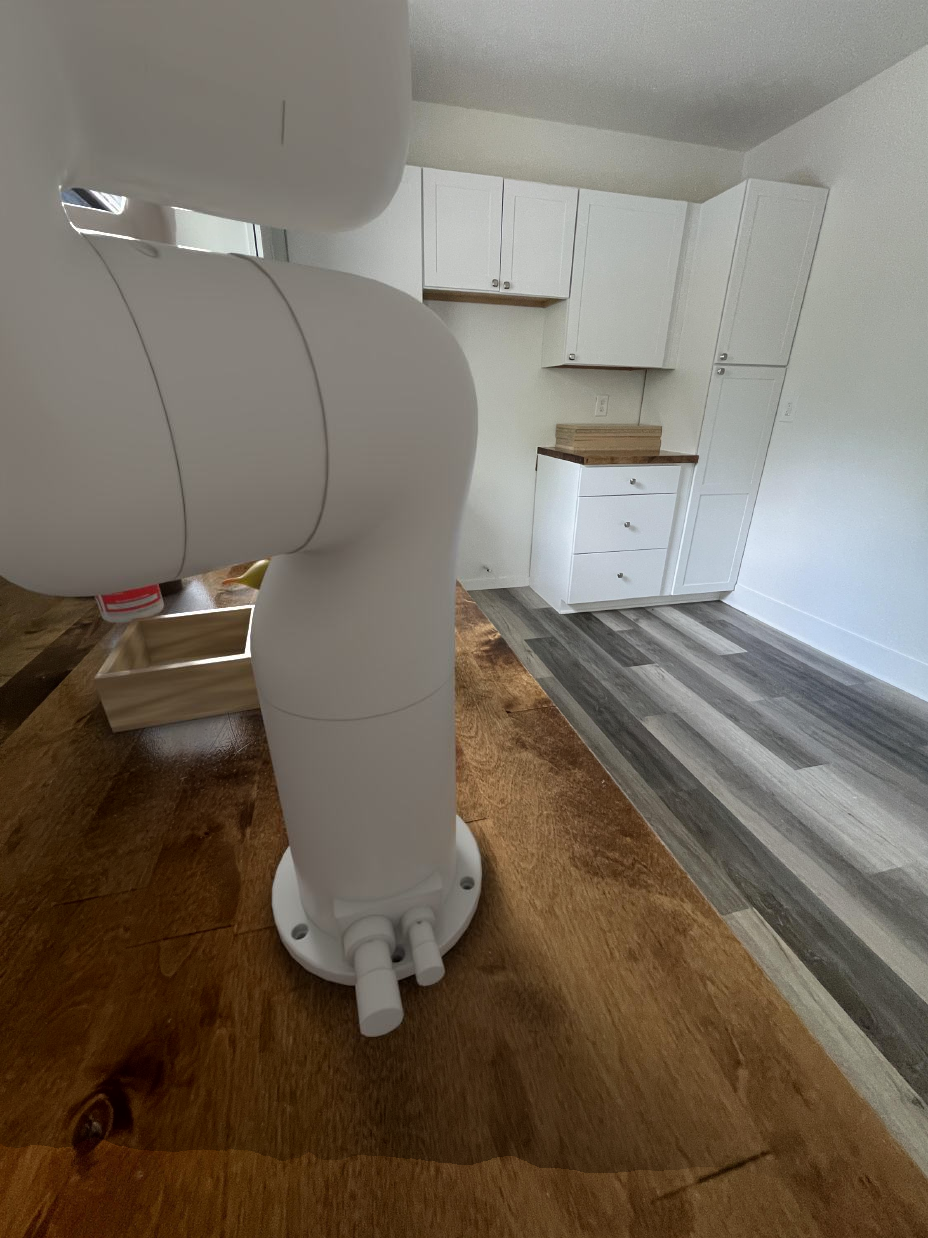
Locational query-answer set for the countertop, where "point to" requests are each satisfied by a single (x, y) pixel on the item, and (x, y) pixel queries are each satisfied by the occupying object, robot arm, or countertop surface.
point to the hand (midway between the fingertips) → (118, 563)
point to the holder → (179, 669)
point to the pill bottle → (130, 604)
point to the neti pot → (252, 575)
